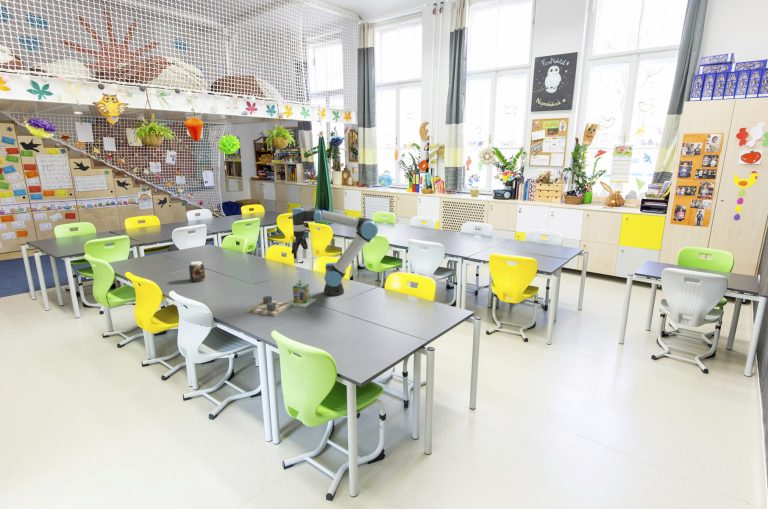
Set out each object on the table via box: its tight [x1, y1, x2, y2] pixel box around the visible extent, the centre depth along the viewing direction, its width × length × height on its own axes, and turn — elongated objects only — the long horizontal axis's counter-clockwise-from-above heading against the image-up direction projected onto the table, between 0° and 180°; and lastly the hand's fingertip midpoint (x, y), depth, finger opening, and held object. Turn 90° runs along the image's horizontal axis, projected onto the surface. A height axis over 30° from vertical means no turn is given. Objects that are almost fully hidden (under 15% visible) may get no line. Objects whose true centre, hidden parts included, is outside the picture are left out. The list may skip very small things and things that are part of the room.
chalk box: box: [292, 279, 310, 303], centre depth 282 cm, size 9×9×15 cm
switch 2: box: [267, 302, 276, 311], centre depth 263 cm, size 4×4×4 cm
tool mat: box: [286, 297, 317, 308], centre depth 284 cm, size 15×15×1 cm
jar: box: [188, 260, 206, 283], centre depth 330 cm, size 12×12×15 cm
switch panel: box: [247, 300, 292, 317], centre depth 271 cm, size 20×19×2 cm
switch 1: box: [262, 295, 273, 304], centre depth 276 cm, size 4×4×4 cm
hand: (300, 260), depth 283 cm, fingers open, 13 cm apart
